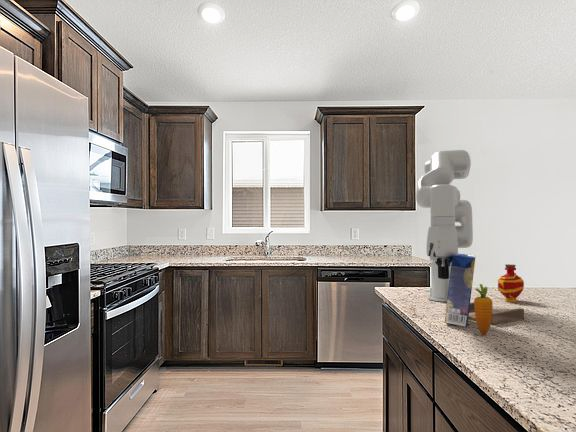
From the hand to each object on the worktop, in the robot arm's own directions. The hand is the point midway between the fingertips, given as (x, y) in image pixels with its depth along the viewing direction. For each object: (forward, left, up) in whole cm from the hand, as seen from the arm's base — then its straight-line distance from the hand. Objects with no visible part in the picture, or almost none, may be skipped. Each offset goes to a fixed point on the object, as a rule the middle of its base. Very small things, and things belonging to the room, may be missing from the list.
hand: (443, 278), depth 143 cm
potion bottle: (-16, +57, -15) cm, 61 cm away
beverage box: (0, +6, -15) cm, 16 cm away
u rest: (0, +21, -15) cm, 26 cm away
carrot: (+16, -1, -15) cm, 22 cm away
